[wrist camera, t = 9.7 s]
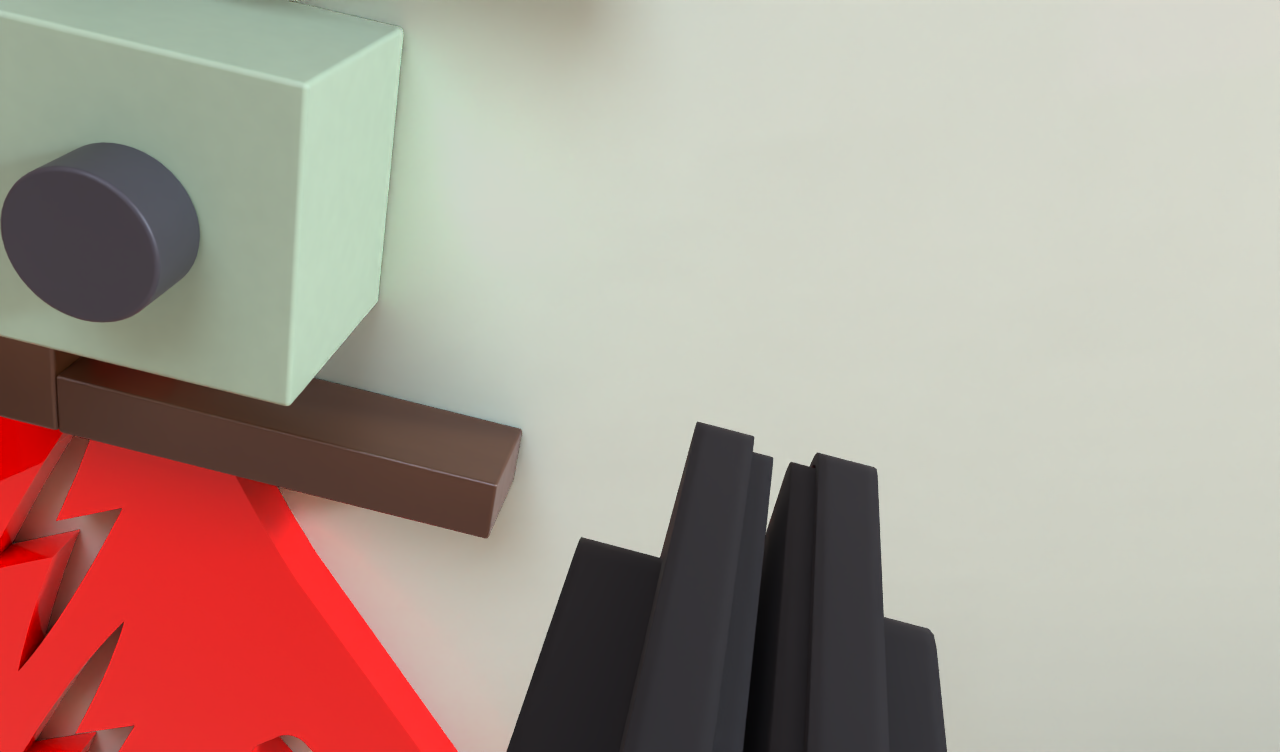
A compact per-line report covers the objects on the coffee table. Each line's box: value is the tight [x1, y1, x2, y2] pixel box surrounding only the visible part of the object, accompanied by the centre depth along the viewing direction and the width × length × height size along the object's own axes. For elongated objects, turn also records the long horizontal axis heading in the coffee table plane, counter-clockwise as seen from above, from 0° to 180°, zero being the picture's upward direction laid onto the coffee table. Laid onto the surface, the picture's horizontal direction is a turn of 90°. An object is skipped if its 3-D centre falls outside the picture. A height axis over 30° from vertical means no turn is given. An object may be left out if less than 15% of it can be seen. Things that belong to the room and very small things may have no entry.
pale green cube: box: [0, 0, 404, 406], centre depth 17 cm, size 5×5×5 cm
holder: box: [0, 336, 522, 538], centre depth 18 cm, size 11×9×2 cm
